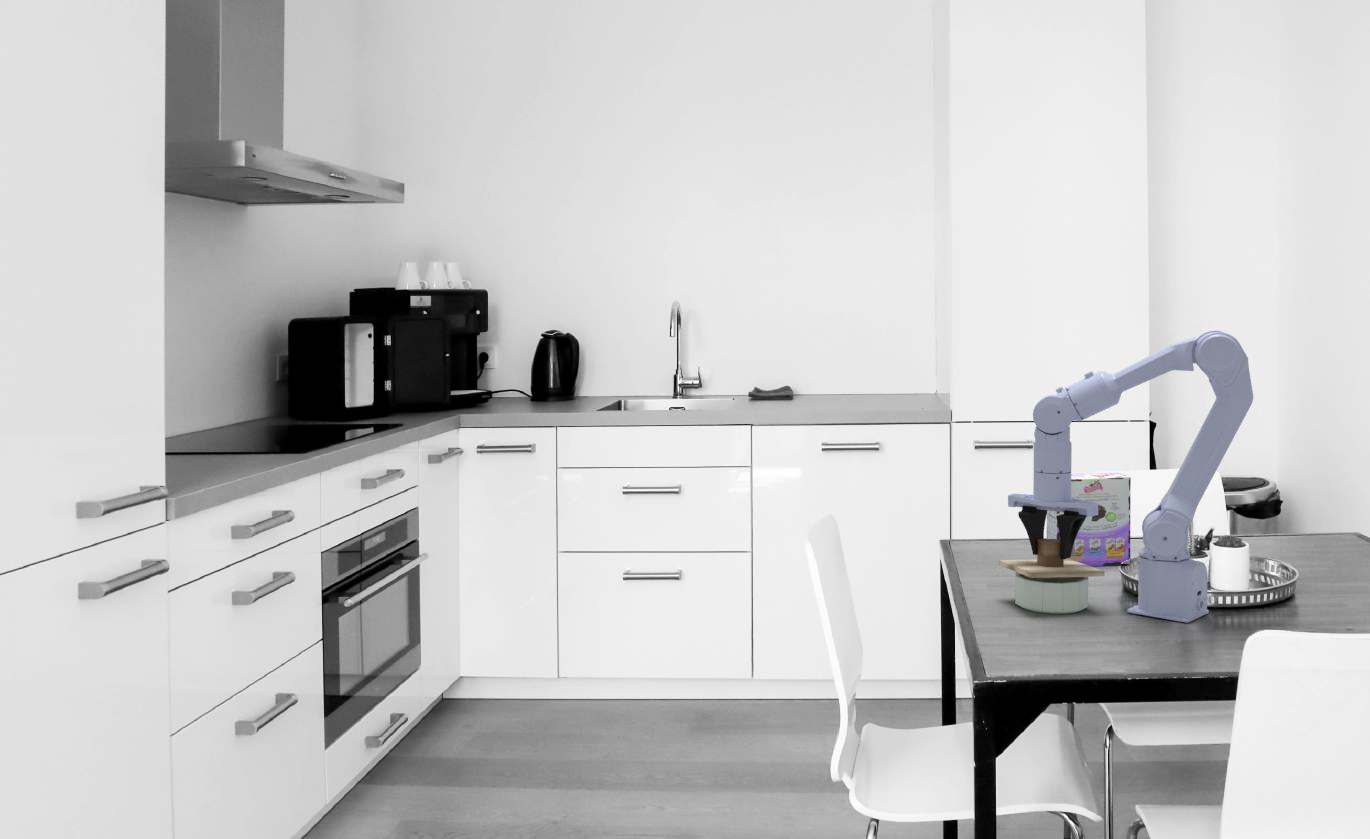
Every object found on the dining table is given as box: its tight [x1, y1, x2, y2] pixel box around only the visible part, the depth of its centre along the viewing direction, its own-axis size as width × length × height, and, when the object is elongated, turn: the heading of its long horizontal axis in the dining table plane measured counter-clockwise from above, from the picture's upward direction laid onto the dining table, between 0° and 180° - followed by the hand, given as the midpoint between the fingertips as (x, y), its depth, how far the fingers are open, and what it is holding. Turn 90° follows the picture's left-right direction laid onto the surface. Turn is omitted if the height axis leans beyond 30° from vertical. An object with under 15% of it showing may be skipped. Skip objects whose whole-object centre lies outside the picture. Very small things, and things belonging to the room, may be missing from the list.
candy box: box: [1046, 472, 1132, 567], centre depth 216 cm, size 14×6×16 cm, turn 92°
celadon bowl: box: [1014, 572, 1089, 615], centre depth 187 cm, size 11×11×5 cm
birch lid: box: [998, 538, 1105, 578], centre depth 186 cm, size 12×12×5 cm
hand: (1051, 555), depth 186 cm, fingers closed on birch lid, 4 cm apart
